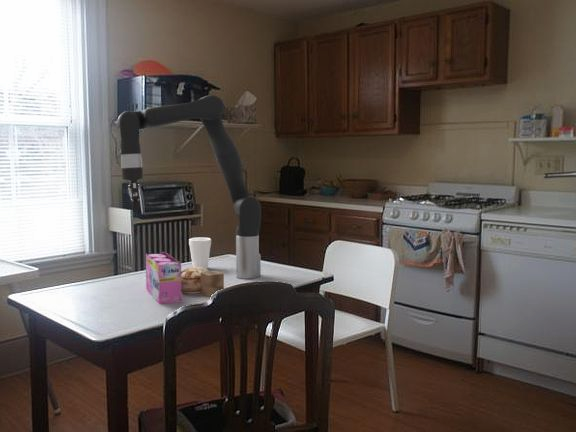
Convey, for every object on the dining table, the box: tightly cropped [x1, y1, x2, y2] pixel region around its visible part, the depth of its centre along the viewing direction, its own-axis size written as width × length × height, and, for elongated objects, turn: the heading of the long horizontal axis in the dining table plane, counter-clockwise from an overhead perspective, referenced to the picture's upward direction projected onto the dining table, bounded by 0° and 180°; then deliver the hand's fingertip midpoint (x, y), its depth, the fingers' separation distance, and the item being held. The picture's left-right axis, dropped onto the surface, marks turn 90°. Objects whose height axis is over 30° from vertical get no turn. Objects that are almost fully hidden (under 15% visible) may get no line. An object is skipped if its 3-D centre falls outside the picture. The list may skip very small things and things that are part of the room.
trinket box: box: [181, 266, 210, 294], centre depth 202 cm, size 13×15×8 cm
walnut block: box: [200, 270, 225, 298], centre depth 194 cm, size 6×6×8 cm
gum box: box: [145, 251, 182, 305], centre depth 193 cm, size 24×8×14 cm, turn 26°
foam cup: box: [188, 236, 212, 270], centre depth 237 cm, size 10×9×13 cm
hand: (135, 210), depth 199 cm, fingers open, 8 cm apart
